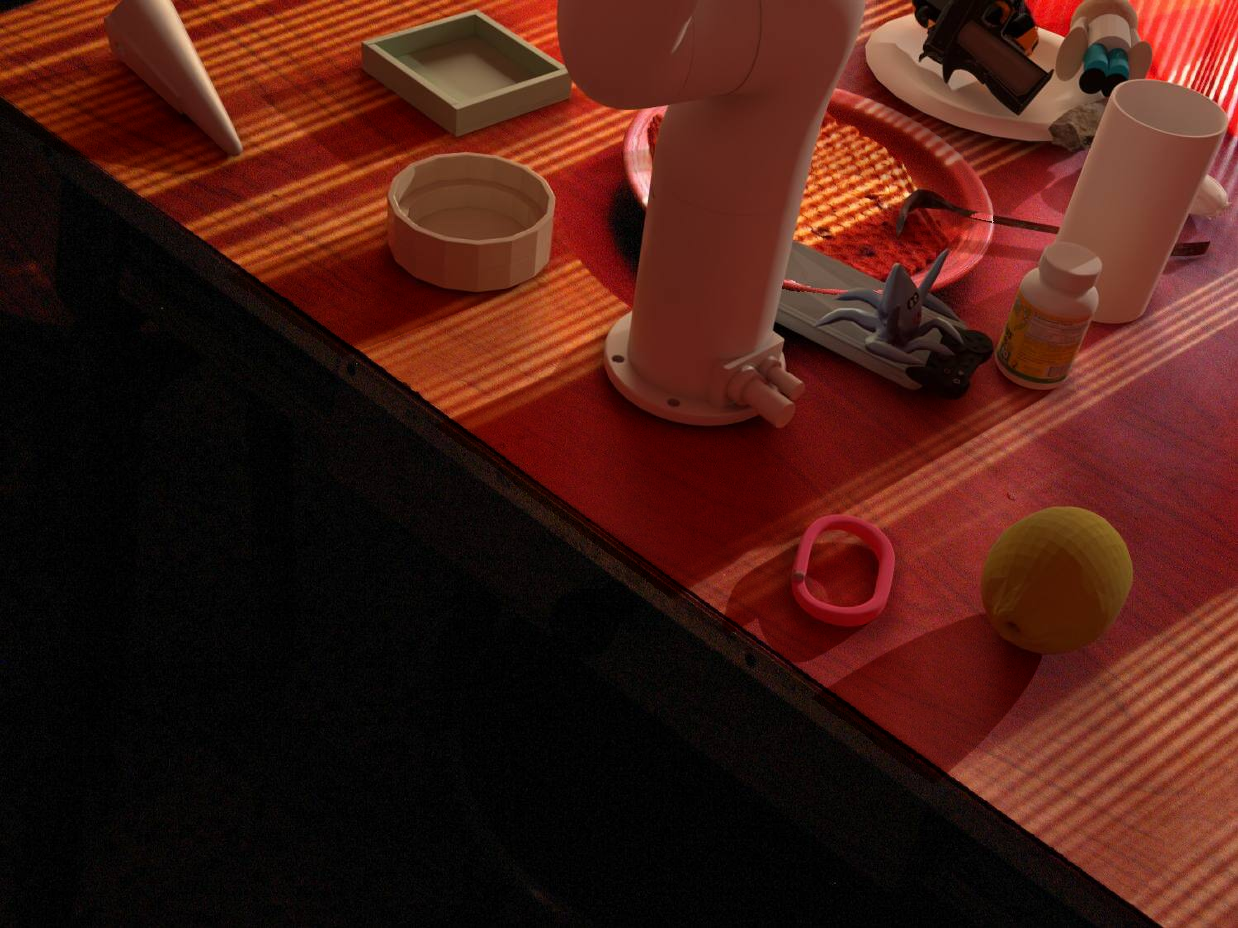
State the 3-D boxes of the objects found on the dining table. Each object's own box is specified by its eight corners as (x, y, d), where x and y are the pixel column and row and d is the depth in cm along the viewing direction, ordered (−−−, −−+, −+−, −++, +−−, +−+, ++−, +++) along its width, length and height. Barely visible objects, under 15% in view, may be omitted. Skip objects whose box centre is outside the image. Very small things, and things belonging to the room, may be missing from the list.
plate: (849, 121, 124) (853, 104, 123) (872, 6, 142) (876, -10, 141) (1129, 179, 122) (1136, 162, 121) (1117, 54, 140) (1122, 39, 139)
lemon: (1034, 548, 87) (1077, 455, 81) (1137, 628, 83) (1189, 536, 77) (920, 624, 81) (958, 529, 76) (1025, 713, 77) (1072, 620, 72)
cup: (1146, 275, 111) (1226, 94, 100) (1146, 334, 105) (1232, 148, 94) (1043, 251, 112) (1112, 69, 101) (1038, 308, 106) (1110, 121, 95)
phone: (728, 284, 102) (726, 298, 103) (921, 381, 96) (916, 394, 97) (786, 235, 107) (783, 249, 107) (973, 324, 101) (968, 338, 101)
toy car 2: (904, 66, 129) (906, 90, 132) (1038, 58, 126) (1037, 84, 129) (912, -27, 135) (914, -1, 138) (1041, -36, 131) (1040, -10, 134)
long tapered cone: (295, 97, 109) (168, -20, 117) (224, 127, 106) (99, 5, 114) (303, 154, 114) (180, 37, 122) (234, 185, 111) (113, 63, 119)
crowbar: (902, 213, 109) (899, 180, 113) (894, 237, 111) (892, 204, 115) (1225, 268, 109) (1212, 233, 113) (1213, 291, 111) (1200, 256, 115)
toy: (1071, 37, 123) (1070, -27, 134) (1048, 98, 127) (1049, 30, 138) (1165, 59, 122) (1157, -8, 133) (1139, 119, 127) (1133, 49, 137)
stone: (1107, 106, 128) (1109, 76, 126) (1157, 115, 125) (1160, 85, 123) (1031, 155, 121) (1032, 123, 119) (1082, 166, 118) (1084, 134, 116)
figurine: (832, 301, 102) (871, 208, 98) (983, 371, 100) (1030, 279, 96) (794, 349, 95) (835, 251, 90) (956, 426, 92) (1006, 329, 88)
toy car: (1113, 151, 125) (1126, 117, 122) (1234, 211, 119) (1249, 177, 117) (1084, 169, 122) (1096, 135, 120) (1206, 232, 117) (1221, 197, 114)
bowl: (583, 260, 104) (588, 210, 101) (455, 316, 98) (456, 263, 95) (484, 187, 110) (486, 137, 107) (357, 234, 104) (355, 182, 100)
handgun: (1117, -51, 127) (995, -95, 130) (1031, 110, 122) (906, 61, 125) (1111, -33, 129) (991, -76, 132) (1026, 126, 125) (904, 78, 128)
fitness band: (805, 517, 86) (810, 500, 85) (897, 543, 86) (903, 526, 85) (780, 612, 81) (785, 595, 80) (878, 640, 80) (885, 623, 79)
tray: (570, 98, 122) (573, 71, 120) (455, 137, 115) (456, 109, 113) (475, 35, 129) (476, 9, 127) (361, 69, 122) (361, 41, 120)
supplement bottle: (1058, 401, 98) (1105, 291, 91) (985, 376, 99) (1026, 265, 92) (1072, 360, 101) (1118, 251, 95) (1001, 336, 103) (1042, 227, 96)
